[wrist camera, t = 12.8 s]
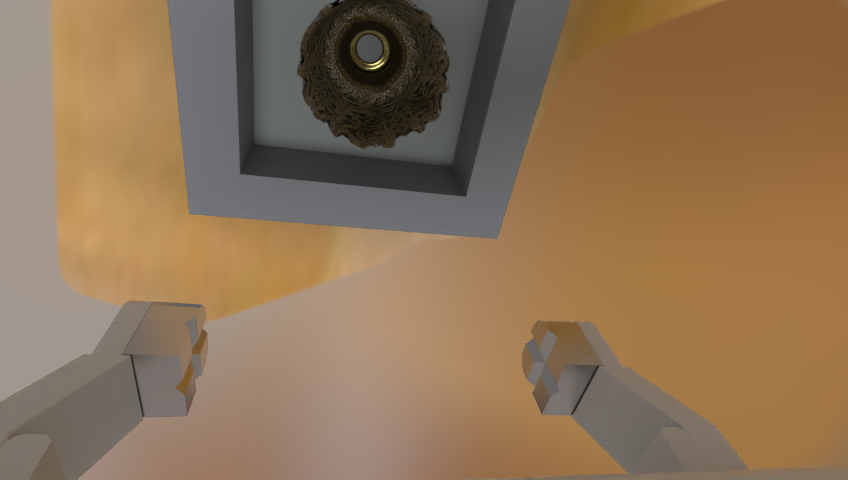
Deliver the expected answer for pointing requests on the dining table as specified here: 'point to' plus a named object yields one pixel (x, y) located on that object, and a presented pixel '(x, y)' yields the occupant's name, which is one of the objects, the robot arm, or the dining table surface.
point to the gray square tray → (335, 156)
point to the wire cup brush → (374, 71)
